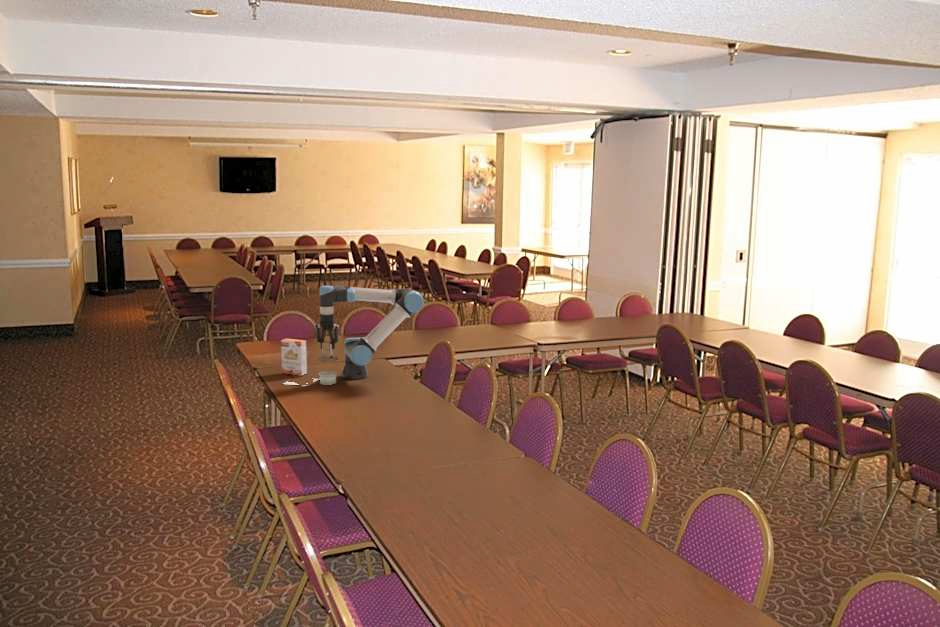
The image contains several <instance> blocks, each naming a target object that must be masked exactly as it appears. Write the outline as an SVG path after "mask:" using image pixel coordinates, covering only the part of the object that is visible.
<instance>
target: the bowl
mask: <svg viewBox="0 0 940 627" xmlns="http://www.w3.org/2000/svg"><path fill="white" fill-rule="evenodd" d="M337 375H338V373H337V371H333V370H325V371H320V372H318V376H319V379H320V381H319V384H320V385H322V384H323V385H332V384H334V385H335V384H336V383H337ZM323 385H322V386H323ZM332 386H333V385H332Z"/></svg>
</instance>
